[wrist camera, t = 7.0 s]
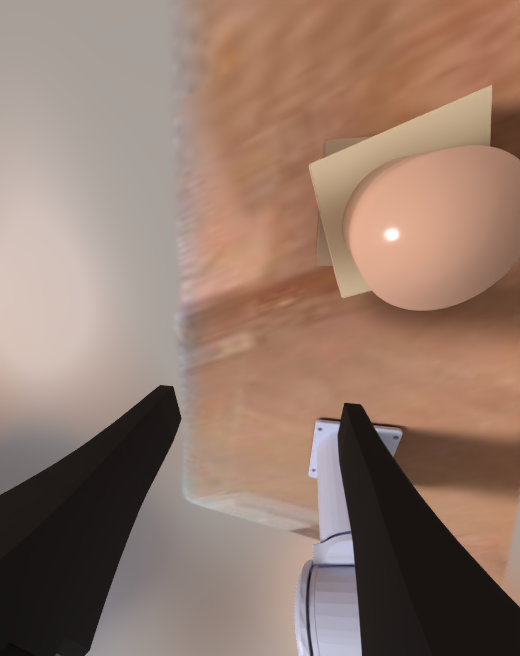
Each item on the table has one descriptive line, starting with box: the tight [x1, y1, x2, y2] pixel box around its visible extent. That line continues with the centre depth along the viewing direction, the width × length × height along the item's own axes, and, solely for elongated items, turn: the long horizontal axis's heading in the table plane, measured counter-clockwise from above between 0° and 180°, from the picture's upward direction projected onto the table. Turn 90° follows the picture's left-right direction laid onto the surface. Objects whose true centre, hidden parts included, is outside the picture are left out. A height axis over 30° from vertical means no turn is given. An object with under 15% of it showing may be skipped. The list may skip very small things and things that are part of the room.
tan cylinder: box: [342, 145, 520, 311], centre depth 9 cm, size 4×4×4 cm
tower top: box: [309, 85, 492, 298], centre depth 12 cm, size 6×6×3 cm
